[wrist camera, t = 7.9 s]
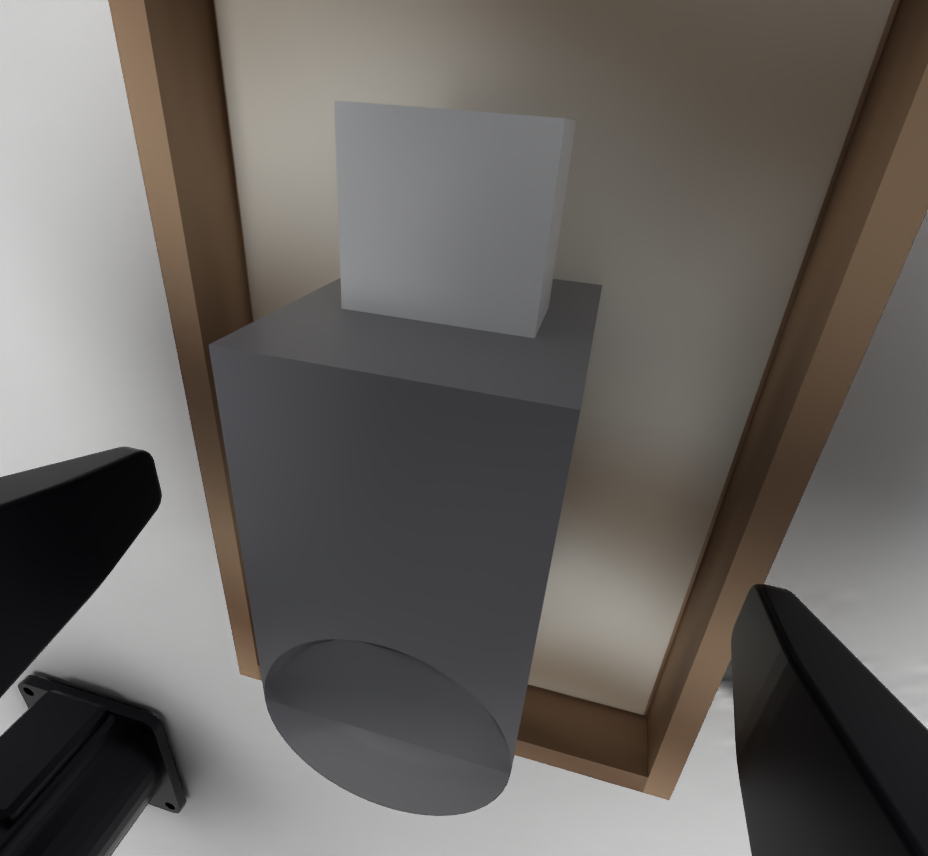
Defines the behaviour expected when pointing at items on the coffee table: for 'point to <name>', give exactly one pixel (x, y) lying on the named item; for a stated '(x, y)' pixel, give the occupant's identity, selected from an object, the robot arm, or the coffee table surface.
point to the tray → (579, 279)
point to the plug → (412, 454)
